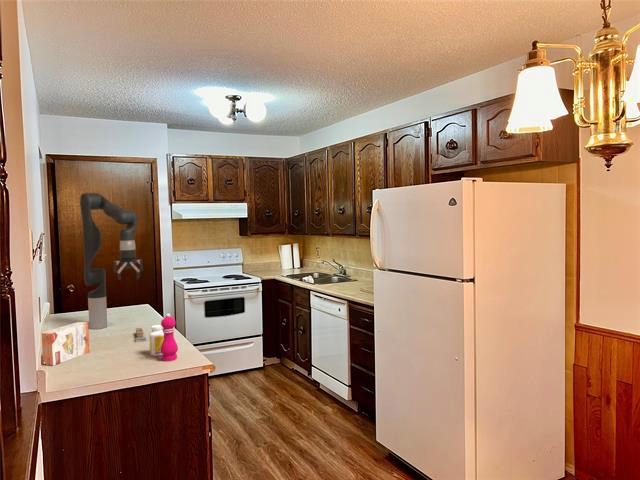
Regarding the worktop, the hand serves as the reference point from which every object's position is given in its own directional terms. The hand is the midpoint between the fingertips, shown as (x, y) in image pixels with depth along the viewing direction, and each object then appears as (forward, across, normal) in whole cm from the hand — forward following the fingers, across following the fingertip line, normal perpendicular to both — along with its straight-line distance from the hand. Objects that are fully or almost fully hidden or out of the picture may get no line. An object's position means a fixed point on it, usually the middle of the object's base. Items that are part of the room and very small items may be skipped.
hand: (128, 279), depth 248 cm
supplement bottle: (+29, -10, +44) cm, 54 cm away
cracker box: (+22, +20, +24) cm, 38 cm away
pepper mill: (+29, -14, +54) cm, 63 cm away
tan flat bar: (+29, -4, +9) cm, 31 cm away
